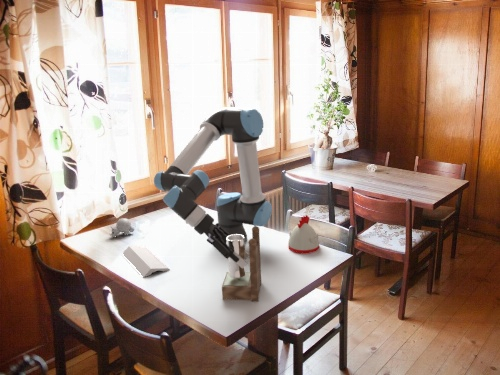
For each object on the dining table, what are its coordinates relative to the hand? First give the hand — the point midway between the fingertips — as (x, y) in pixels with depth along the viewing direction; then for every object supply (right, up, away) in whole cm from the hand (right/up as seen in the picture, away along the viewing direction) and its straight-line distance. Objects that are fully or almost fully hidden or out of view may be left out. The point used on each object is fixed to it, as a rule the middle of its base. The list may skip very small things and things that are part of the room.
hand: (246, 261), depth 175 cm
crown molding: (-45, -6, +33) cm, 56 cm away
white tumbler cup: (-3, -5, +2) cm, 7 cm away
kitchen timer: (+26, 0, +41) cm, 49 cm away
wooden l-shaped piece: (-1, -12, +4) cm, 13 cm away
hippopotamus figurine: (-64, +3, +65) cm, 91 cm away
